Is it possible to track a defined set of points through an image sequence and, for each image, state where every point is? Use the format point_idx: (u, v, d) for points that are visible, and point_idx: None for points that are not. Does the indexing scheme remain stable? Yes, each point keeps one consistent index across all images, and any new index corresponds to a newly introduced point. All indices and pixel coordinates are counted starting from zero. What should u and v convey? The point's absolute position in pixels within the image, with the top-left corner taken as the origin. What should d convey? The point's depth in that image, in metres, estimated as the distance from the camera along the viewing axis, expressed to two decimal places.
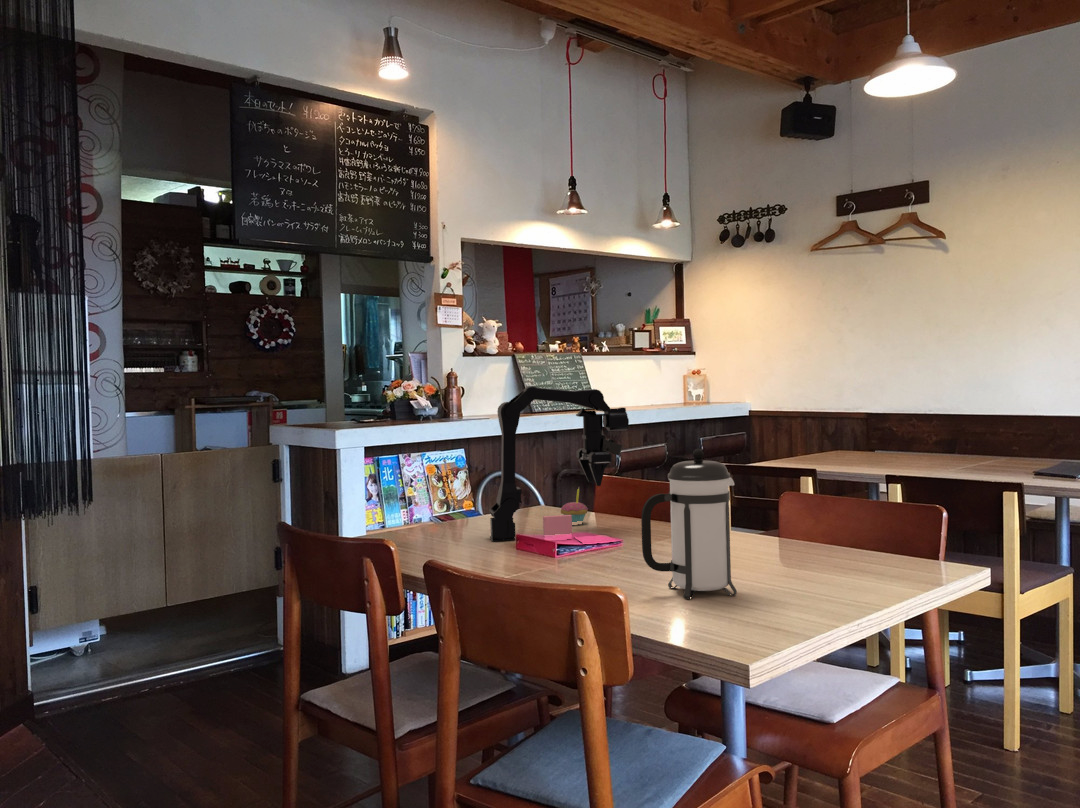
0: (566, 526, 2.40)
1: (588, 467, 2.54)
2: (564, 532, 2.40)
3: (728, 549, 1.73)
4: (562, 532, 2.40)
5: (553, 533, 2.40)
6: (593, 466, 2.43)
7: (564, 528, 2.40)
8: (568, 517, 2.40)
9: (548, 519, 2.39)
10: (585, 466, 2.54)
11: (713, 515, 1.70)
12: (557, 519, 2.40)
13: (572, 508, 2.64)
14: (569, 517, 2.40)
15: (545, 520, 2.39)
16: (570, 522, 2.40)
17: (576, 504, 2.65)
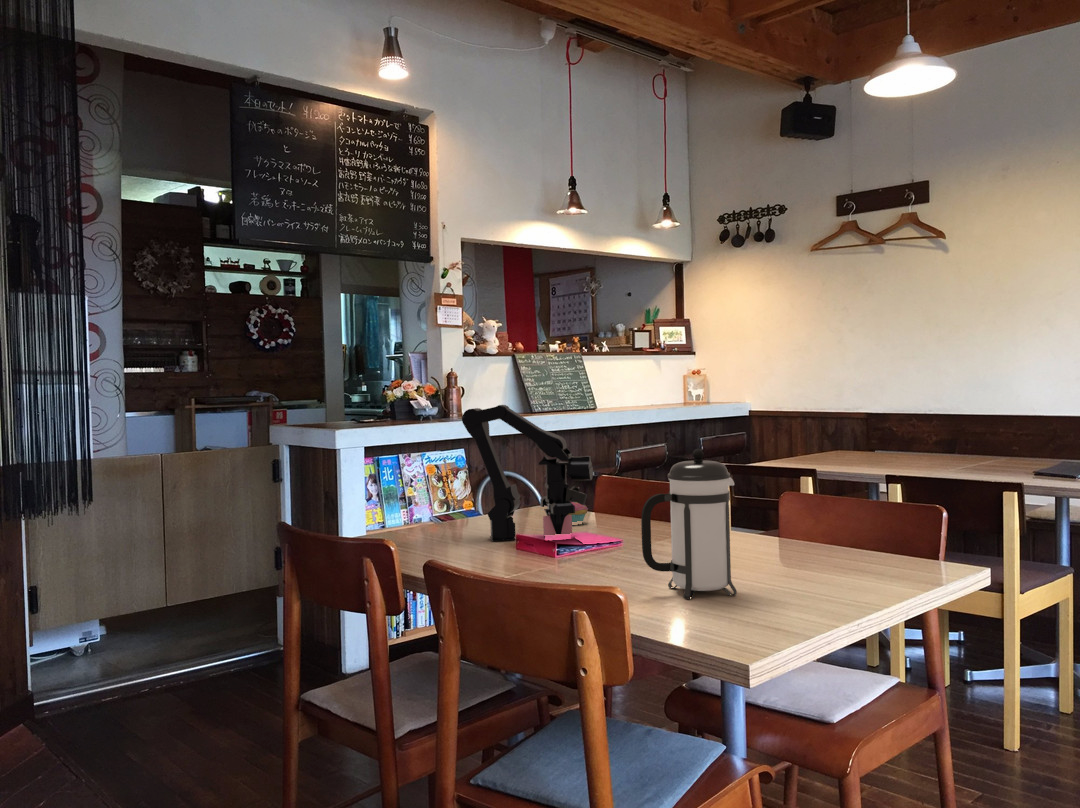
0: (566, 526, 2.40)
1: None
2: (564, 532, 2.40)
3: (728, 549, 1.73)
4: (562, 532, 2.40)
5: (553, 533, 2.40)
6: (552, 516, 2.37)
7: (564, 528, 2.40)
8: (568, 517, 2.40)
9: (548, 519, 2.39)
10: None
11: (712, 515, 1.70)
12: None
13: None
14: (569, 517, 2.40)
15: (545, 520, 2.39)
16: (570, 522, 2.40)
17: (576, 504, 2.65)
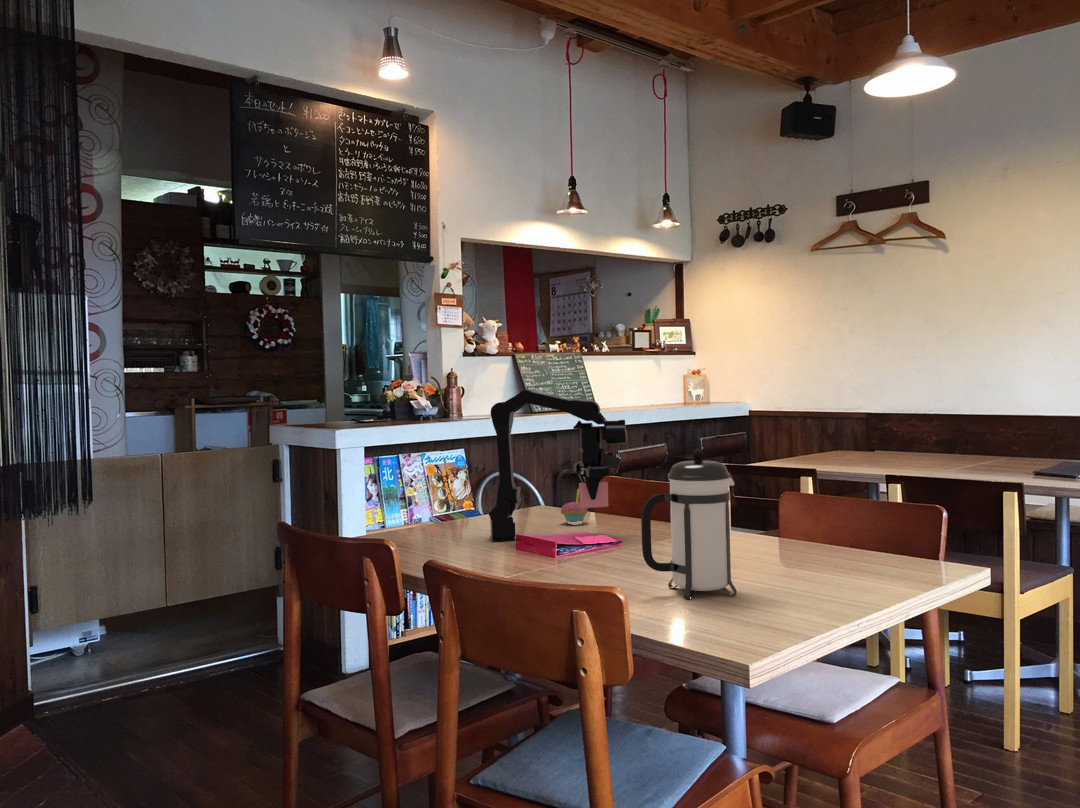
0: (602, 493, 2.40)
1: None
2: (600, 499, 2.40)
3: (728, 549, 1.73)
4: (598, 499, 2.40)
5: (589, 499, 2.39)
6: (587, 479, 2.37)
7: (600, 495, 2.40)
8: (604, 484, 2.40)
9: (584, 485, 2.39)
10: None
11: (712, 515, 1.70)
12: None
13: (572, 508, 2.64)
14: (605, 484, 2.40)
15: (581, 486, 2.39)
16: (606, 489, 2.40)
17: (576, 504, 2.65)
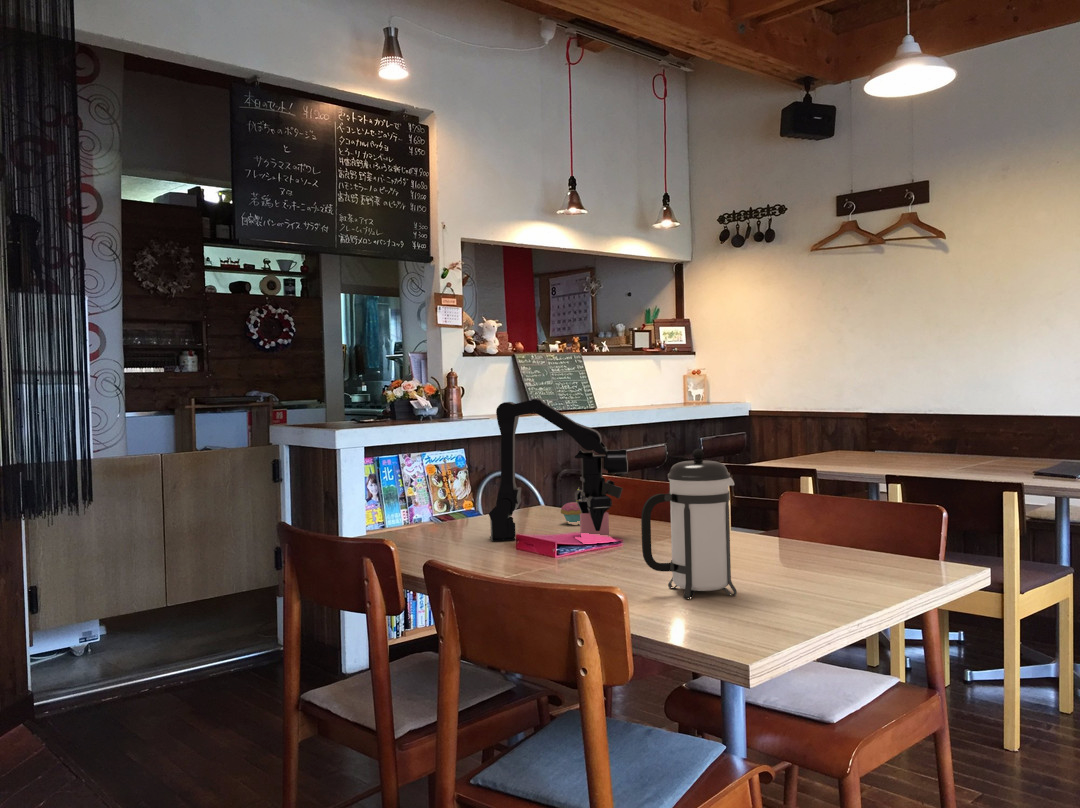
0: (603, 523, 2.40)
1: (587, 510, 2.45)
2: (601, 529, 2.40)
3: (728, 549, 1.73)
4: None
5: (590, 530, 2.40)
6: (592, 511, 2.34)
7: (601, 525, 2.40)
8: (605, 514, 2.40)
9: (585, 516, 2.39)
10: (584, 509, 2.45)
11: (712, 515, 1.70)
12: None
13: (572, 508, 2.64)
14: (606, 514, 2.41)
15: (582, 517, 2.39)
16: (607, 519, 2.41)
17: (576, 504, 2.65)
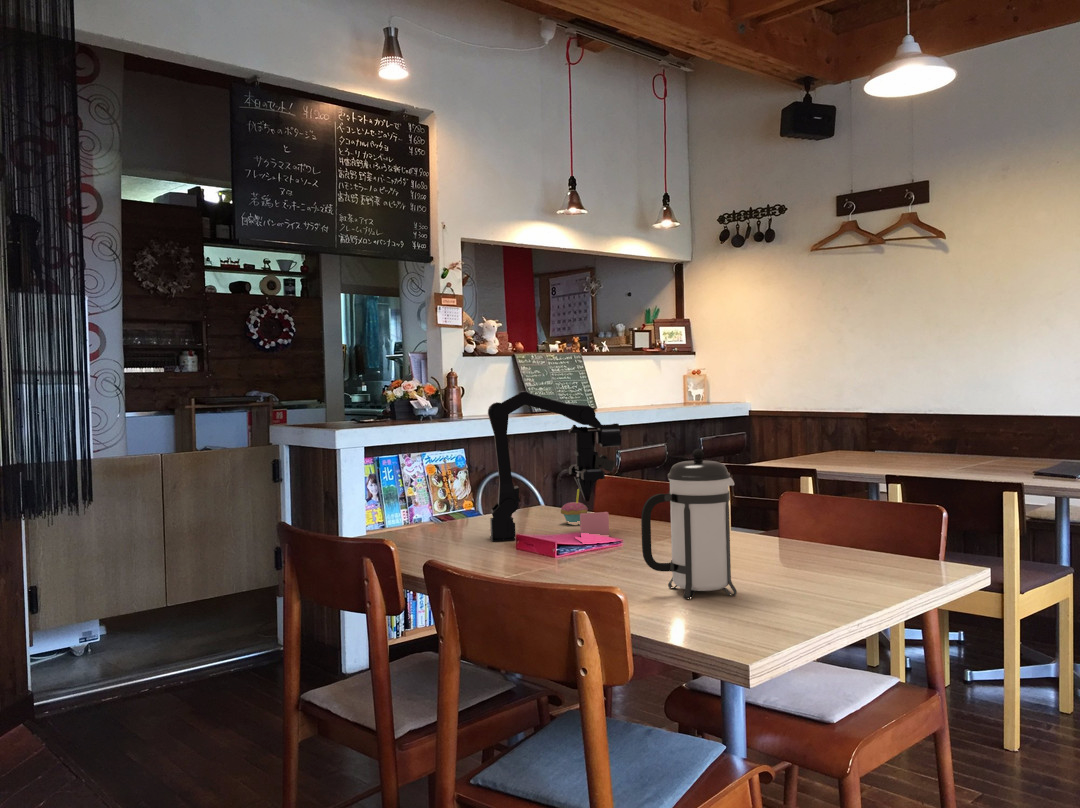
0: (603, 523, 2.40)
1: None
2: (601, 529, 2.40)
3: (728, 549, 1.73)
4: (598, 529, 2.40)
5: (590, 530, 2.40)
6: (581, 482, 2.44)
7: (601, 525, 2.40)
8: (605, 514, 2.40)
9: (585, 516, 2.39)
10: None
11: (712, 515, 1.70)
12: (594, 516, 2.40)
13: (572, 508, 2.64)
14: (606, 514, 2.41)
15: (582, 517, 2.39)
16: (607, 519, 2.41)
17: (576, 504, 2.65)
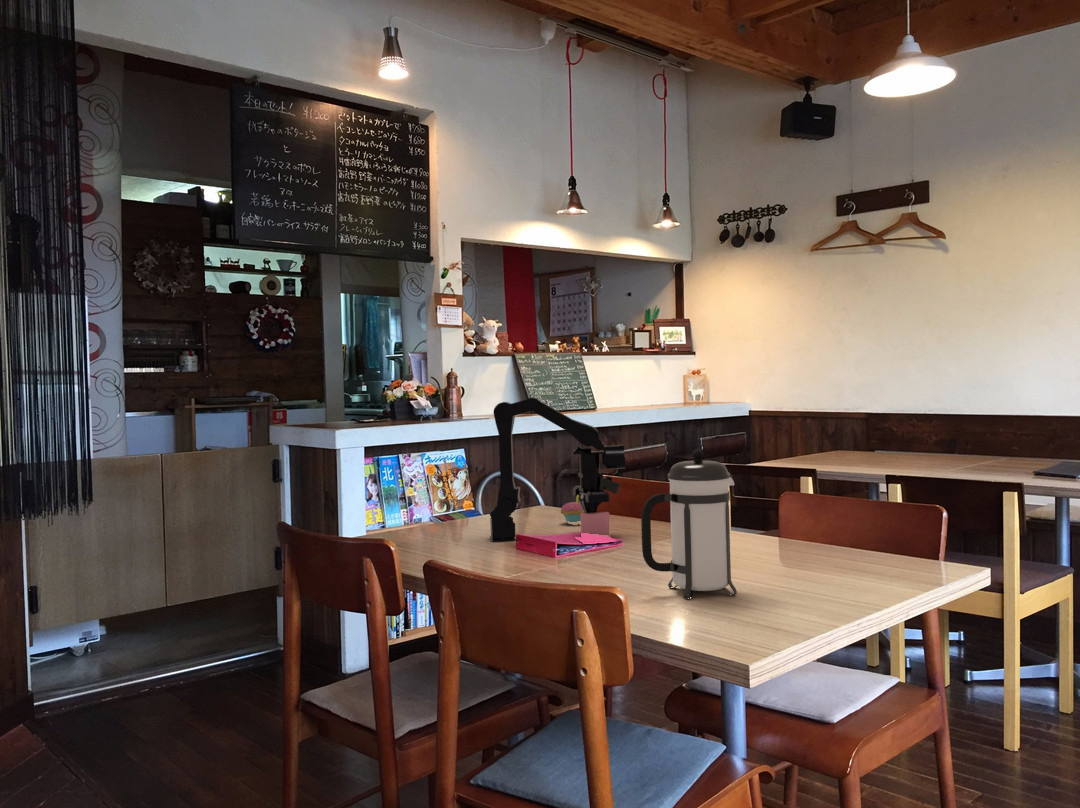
0: (603, 523, 2.40)
1: None
2: (601, 529, 2.40)
3: (728, 549, 1.73)
4: (599, 529, 2.40)
5: (590, 530, 2.39)
6: (586, 504, 2.40)
7: (601, 525, 2.40)
8: (605, 515, 2.40)
9: (586, 517, 2.39)
10: None
11: (712, 515, 1.70)
12: (594, 517, 2.39)
13: (572, 508, 2.64)
14: (606, 515, 2.40)
15: (583, 517, 2.39)
16: (607, 519, 2.40)
17: (576, 504, 2.65)
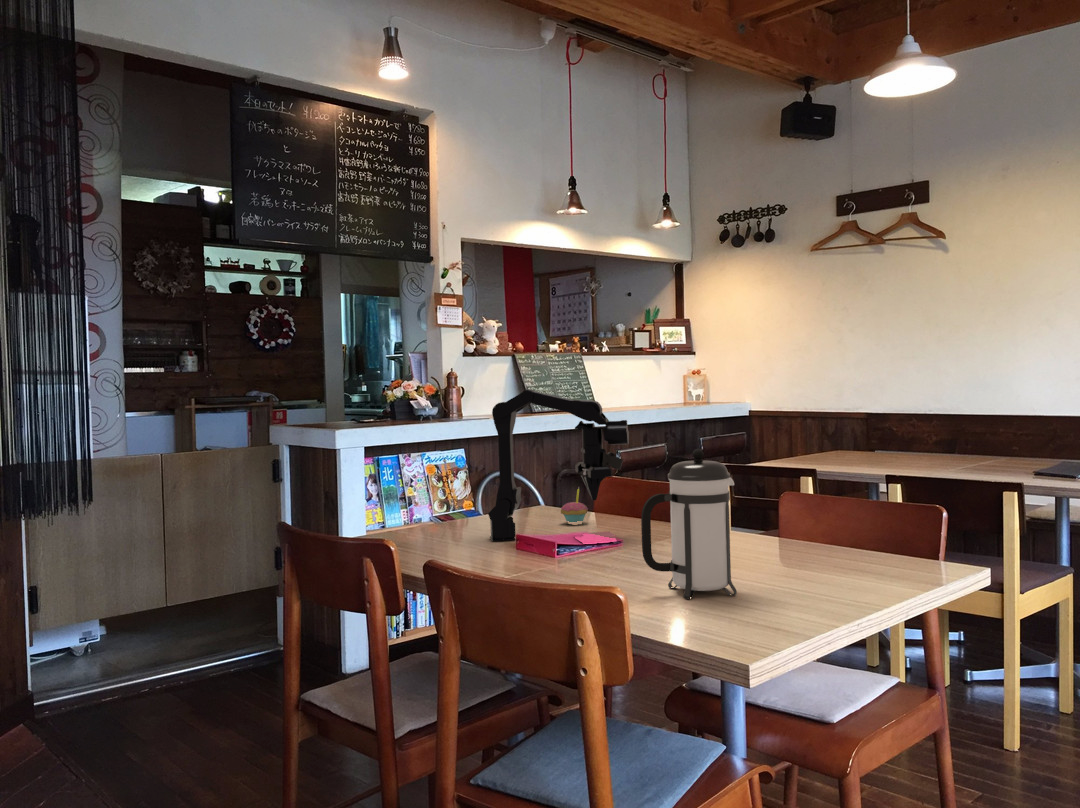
0: None
1: None
2: None
3: (728, 549, 1.73)
4: None
5: None
6: (588, 480, 2.37)
7: None
8: None
9: None
10: None
11: (712, 515, 1.70)
12: None
13: (572, 508, 2.64)
14: None
15: None
16: None
17: (576, 504, 2.65)
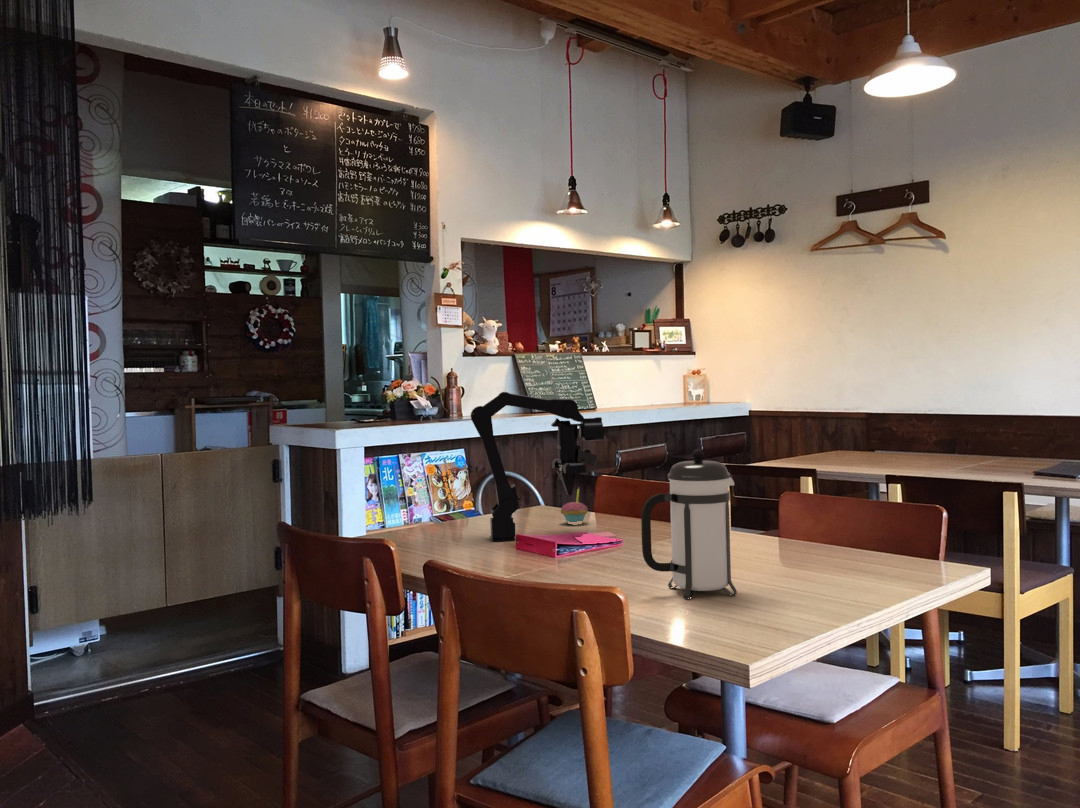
0: None
1: None
2: None
3: (728, 549, 1.73)
4: None
5: None
6: (564, 475, 2.44)
7: None
8: None
9: None
10: None
11: (712, 515, 1.70)
12: None
13: (572, 508, 2.64)
14: None
15: None
16: None
17: (576, 504, 2.65)
